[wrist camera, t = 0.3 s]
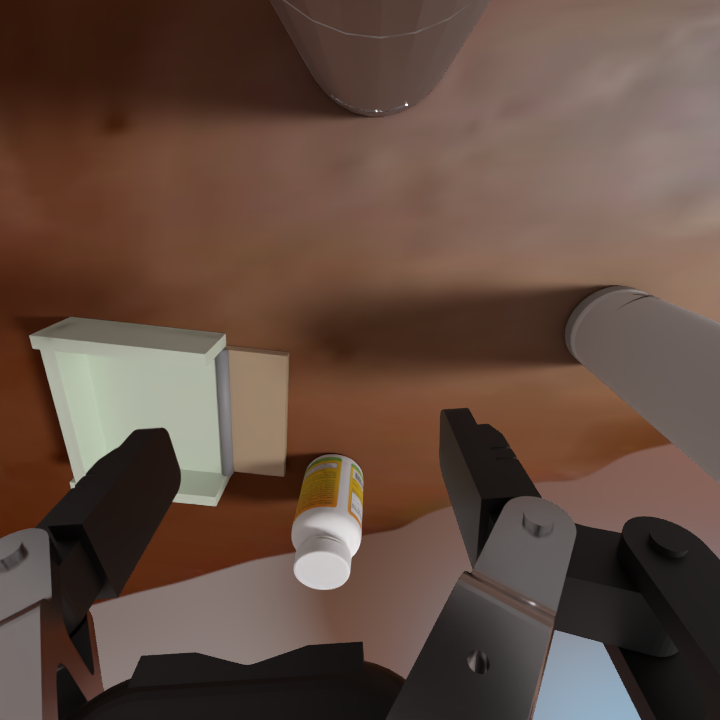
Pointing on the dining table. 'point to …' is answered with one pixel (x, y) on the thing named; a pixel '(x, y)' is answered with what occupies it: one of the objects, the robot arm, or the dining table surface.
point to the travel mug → (655, 364)
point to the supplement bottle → (328, 521)
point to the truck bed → (168, 398)
